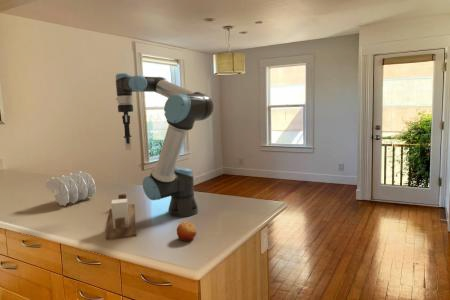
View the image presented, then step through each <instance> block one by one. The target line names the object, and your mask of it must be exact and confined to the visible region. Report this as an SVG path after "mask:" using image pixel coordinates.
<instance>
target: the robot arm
mask: <svg viewBox="0 0 450 300" xmlns="http://www.w3.org/2000/svg"><path fill="white" fill-rule="evenodd" d="M115 88H116V99H115V100H116V101H117V102H116V103H117V112H118V113H123V115H122V116H121V119H122V123H123V125H124V127H123V128H124V136H123V138H124V142H125V143H124V145H125V150H126V151H130V150H132V141H131V138H132V135H131V132H130V131H131V129H130V124H131V115H129V113H130V112H134V106H133V103H134V100H133V93H134V92H136V93H137V92H141V93H144V92H149V93H151V92H152V93H156V94H159V95H161V96H163V97H164V98H167V99H166V101H165V103H164V108H163V111H164V116H165V119H166V123H167V124H168V126H167V129H166V133H165V136H164V139H163V142H162V145H161V149H160V153H159V157H158V159H157V163H156V166H154V167H153V168H152V169H151V170H150V174H149V175H146V176H145V177H143V179H142V189H143V192H144V194H145V195H146V197H147V199H149V200H150V201H157V200H161V199H164V198H169V197H170V202H169V205H168V210H167V211H168V215H169V216H172V217H178V218H181V217H182V218H183V217H189V216H194V215H196V214H198V213H199V207H198V203H197V200H196V199H195V187H194V186H195V185H194V173H193V172H194V171H193V170H192V168H187V167H177V164H178V161H179V158H180V154H181V152H182V149H183V146H184V143H185V140H186V138H187V134H188V131H191V130H192V129H193V128H194V125H195V123H196V122H198V121H199V122H200V121H204V120H206V119H209V117H211V115H212V114H213V112H214V102H213V99H212V98H211V97H210V95H207V94H206V93H202V92H199V91H191V90H189V89H188V88H187V89H186V88H184V87H183V86H180V85H177V84H174V83H172V82H169V81H168V80H167V78H166V77H163V76H145V75H143V76H142V75H137V74H136V75H132V76H131V74H130V73H123V72H121V73H116V74H115Z"/></svg>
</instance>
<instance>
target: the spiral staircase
mask: <svg viewBox="0 0 450 300" xmlns="http://www.w3.org/2000/svg"><path fill="white" fill-rule="evenodd" d="M44 186H45V187H46V188H47V189H48V190H50V191H51V193H52V195H53V196H54V198H55V203H57V204H59V206H64V207H66V206H67V204H68V203H69V204H70V203H71V204H72V205H74V204H75V203H76V202H78V201H81V200H83V201H84V200H85V199H87V198H91V199H92V198H93V197H94V195H96V191H97V187H96V183H95V180H94V179H93V176H92V175H91V174H89V173H87V171H81V170H79V171H78V172H75V173H72V172H70V173H69V174H68V175H64V174H63V175H61V176H57V177H54V176H52V177H51V178H49V179H46V182H45V185H44Z"/></svg>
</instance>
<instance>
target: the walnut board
mask: <svg viewBox="0 0 450 300" xmlns="http://www.w3.org/2000/svg"><path fill="white" fill-rule="evenodd" d="M117 197H118V199H120V198H125V199H127V193H122V194H118V196H117ZM135 207H136V205H135V204H134V203H133V204H128V213H129V228H126V225H125V217H124V218H118V219H115V228H116V230H113V218H112V207H111V208H110V209H111V210H110V213H109V214H110V215H109V219H108V220H109V221H108V224H107V231H106V236H105V240H106V241H108V240H115V239H116V240H117V239H125V238H132V237H136V236H137V229H136V228H137V226H136V209H135Z"/></svg>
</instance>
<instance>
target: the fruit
mask: <svg viewBox="0 0 450 300" xmlns="http://www.w3.org/2000/svg"><path fill="white" fill-rule="evenodd" d="M176 235H177V237H178V239H177V241H179V240H181V241H183V242H189V241H192V240H193V238H195V237H196V235H197V229H196V227H195V225H194V224H193V223H190V222H189V221H188V222H187V221H183V222H181V223H180V224H178V226H177V228H176Z"/></svg>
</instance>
